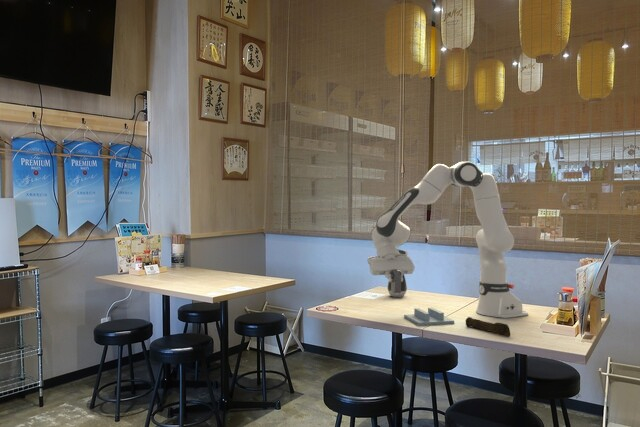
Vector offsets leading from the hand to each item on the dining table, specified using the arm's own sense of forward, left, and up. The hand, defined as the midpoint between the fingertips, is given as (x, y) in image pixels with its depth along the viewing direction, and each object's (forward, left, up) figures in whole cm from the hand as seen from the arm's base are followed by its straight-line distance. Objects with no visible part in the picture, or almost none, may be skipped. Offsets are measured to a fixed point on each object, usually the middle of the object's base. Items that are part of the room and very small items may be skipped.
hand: (396, 281), depth 207 cm
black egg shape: (-19, -42, -16) cm, 48 cm away
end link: (0, -1, -5) cm, 5 cm away
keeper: (-11, +9, -15) cm, 21 cm away
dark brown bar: (-26, +29, -16) cm, 42 cm away
